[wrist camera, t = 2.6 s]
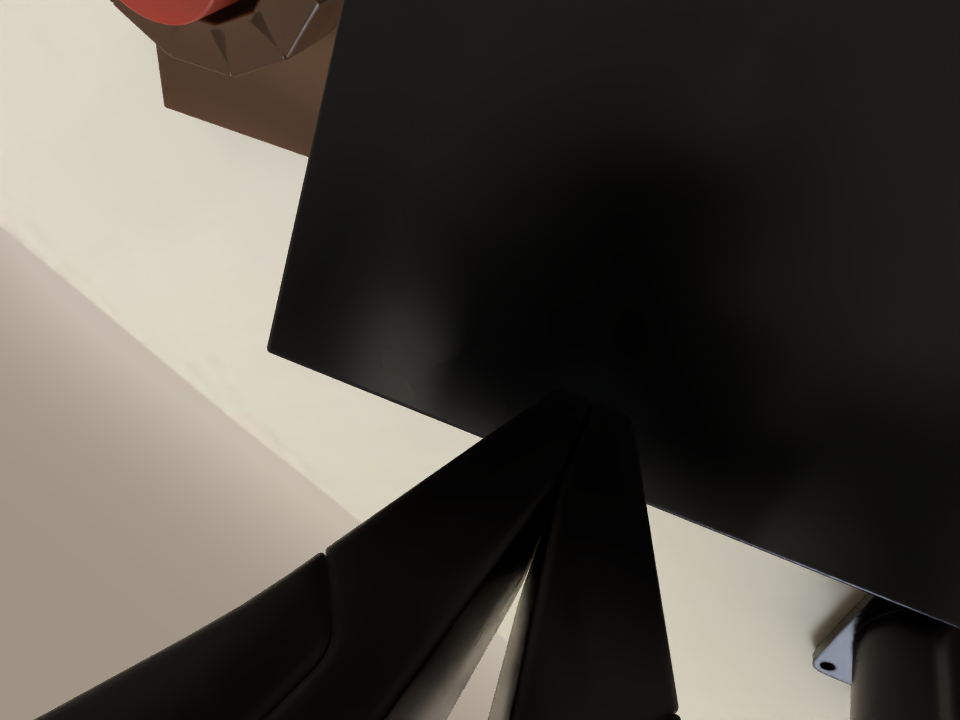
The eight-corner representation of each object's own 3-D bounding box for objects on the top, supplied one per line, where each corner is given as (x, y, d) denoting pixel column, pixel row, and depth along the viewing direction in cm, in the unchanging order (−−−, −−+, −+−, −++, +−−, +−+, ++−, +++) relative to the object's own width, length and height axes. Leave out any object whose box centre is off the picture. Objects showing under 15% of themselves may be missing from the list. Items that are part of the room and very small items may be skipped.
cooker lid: (958, 609, 11) (974, 638, 10) (286, 342, 13) (263, 352, 12) (1615, -494, 7) (1707, -560, 6) (511, -645, 9) (495, -709, 8)
